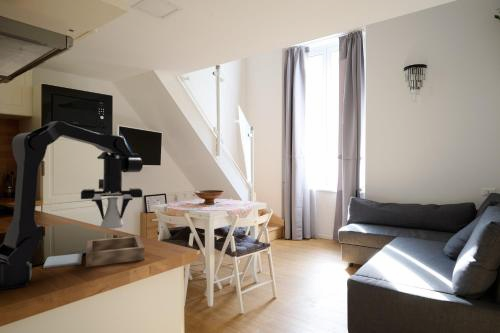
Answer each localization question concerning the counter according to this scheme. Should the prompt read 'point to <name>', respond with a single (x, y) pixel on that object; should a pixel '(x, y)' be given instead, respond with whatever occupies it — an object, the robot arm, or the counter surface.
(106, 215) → the flask
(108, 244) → the walnut box
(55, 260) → the pale grey flat slab
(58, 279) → the counter surface
